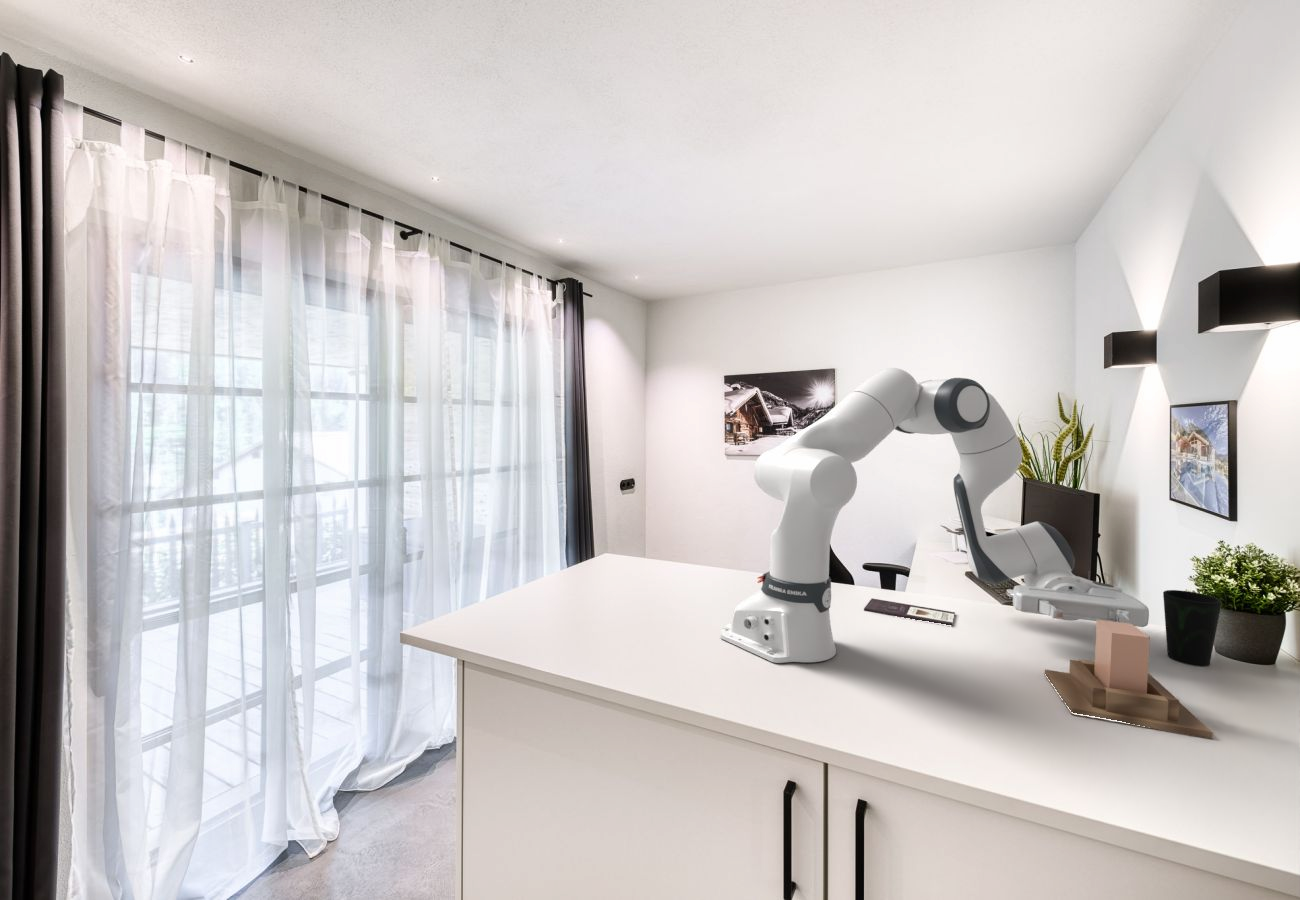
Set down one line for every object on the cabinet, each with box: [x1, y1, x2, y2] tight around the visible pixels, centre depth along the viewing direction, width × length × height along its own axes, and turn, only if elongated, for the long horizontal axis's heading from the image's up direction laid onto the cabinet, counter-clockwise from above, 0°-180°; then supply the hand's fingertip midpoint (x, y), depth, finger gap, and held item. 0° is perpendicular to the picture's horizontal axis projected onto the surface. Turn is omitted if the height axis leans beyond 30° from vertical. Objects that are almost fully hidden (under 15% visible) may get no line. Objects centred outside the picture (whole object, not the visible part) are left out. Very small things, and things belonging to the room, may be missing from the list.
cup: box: [1162, 589, 1223, 667], centre depth 100 cm, size 8×8×12 cm
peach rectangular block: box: [1094, 620, 1150, 694], centre depth 84 cm, size 4×6×11 cm
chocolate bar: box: [863, 597, 956, 626], centre depth 125 cm, size 9×1×18 cm
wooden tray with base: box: [1044, 659, 1214, 740], centre depth 85 cm, size 16×14×4 cm
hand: (1090, 618), depth 95 cm, fingers open, 8 cm apart
